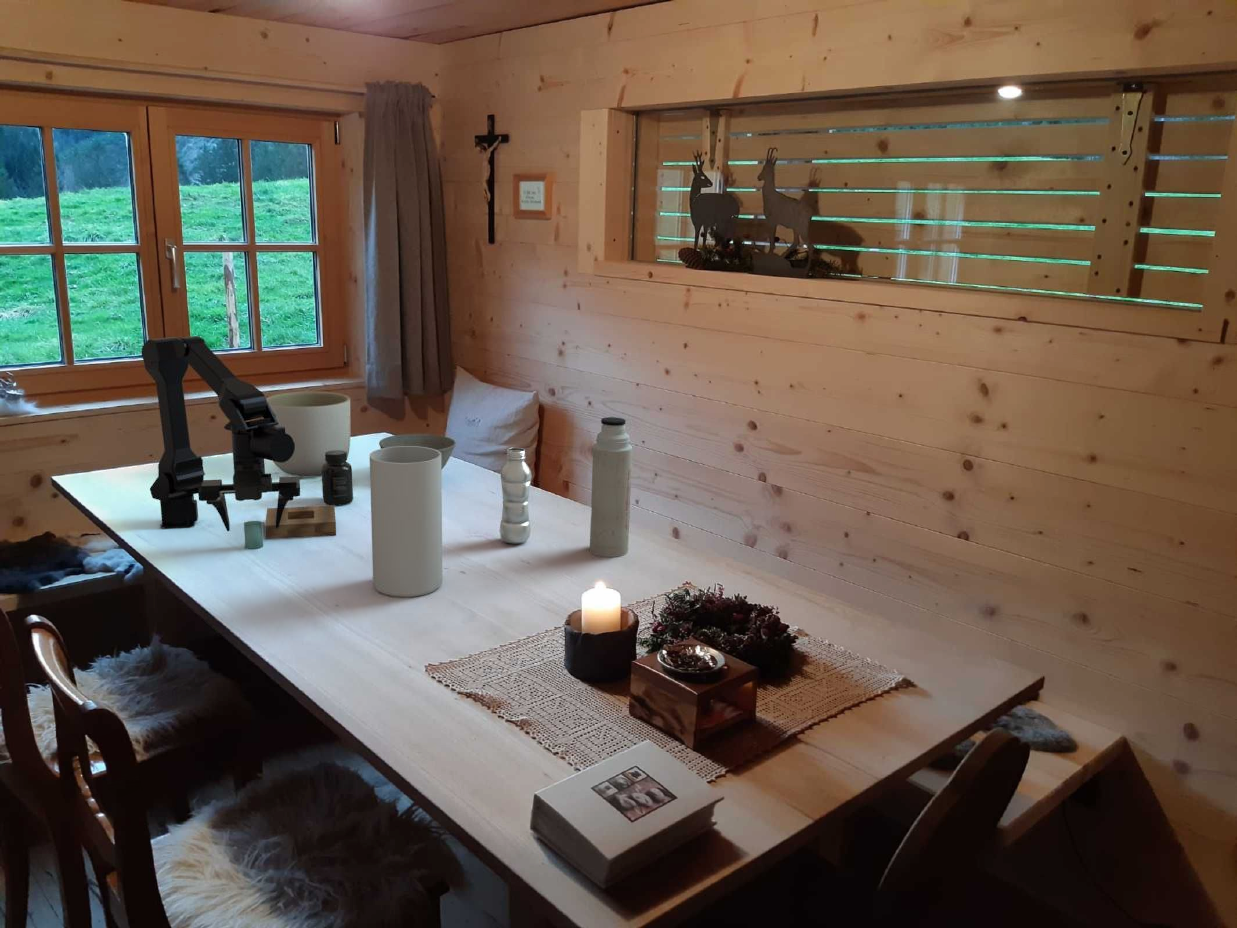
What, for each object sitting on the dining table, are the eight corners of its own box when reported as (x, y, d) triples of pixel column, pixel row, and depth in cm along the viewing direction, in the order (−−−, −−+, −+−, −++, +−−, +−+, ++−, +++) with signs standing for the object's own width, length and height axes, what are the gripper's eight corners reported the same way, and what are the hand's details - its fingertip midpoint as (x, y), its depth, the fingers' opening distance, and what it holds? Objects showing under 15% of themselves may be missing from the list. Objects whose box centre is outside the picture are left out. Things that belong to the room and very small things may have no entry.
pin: (244, 550, 194) (243, 526, 193) (245, 544, 197) (244, 521, 196) (262, 549, 195) (261, 525, 194) (263, 543, 198) (262, 520, 197)
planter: (255, 479, 242) (250, 404, 237) (286, 459, 262) (282, 389, 257) (337, 483, 242) (335, 408, 237) (362, 462, 262) (360, 393, 257)
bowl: (365, 484, 241) (364, 445, 239) (403, 467, 259) (402, 430, 256) (433, 493, 236) (433, 454, 234) (467, 475, 254) (467, 437, 251)
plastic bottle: (493, 543, 203) (493, 450, 198) (511, 534, 209) (512, 444, 204) (518, 549, 201) (520, 455, 196) (536, 540, 206) (538, 448, 201)
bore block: (265, 539, 200) (264, 525, 200) (267, 521, 211) (267, 508, 211) (336, 535, 204) (335, 521, 204) (334, 517, 216) (334, 505, 215)
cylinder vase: (374, 600, 172) (370, 464, 166) (372, 575, 184) (368, 447, 177) (445, 596, 175) (444, 462, 169) (439, 571, 187) (438, 445, 181)
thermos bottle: (631, 546, 205) (637, 416, 198) (623, 558, 197) (629, 424, 190) (594, 542, 206) (598, 413, 199) (585, 554, 199) (589, 421, 192)
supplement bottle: (357, 498, 230) (355, 449, 227) (346, 507, 223) (345, 456, 220) (329, 497, 231) (327, 447, 227) (318, 505, 224) (315, 455, 221)
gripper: (192, 466, 181) (198, 545, 185) (297, 462, 187) (301, 539, 191) (198, 452, 191) (204, 527, 195) (298, 448, 197) (301, 521, 201)
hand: (253, 529), depth 195 cm, fingers open, 9 cm apart
